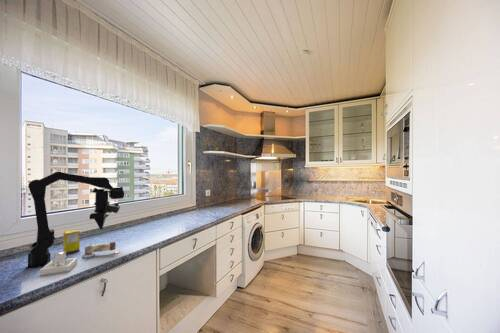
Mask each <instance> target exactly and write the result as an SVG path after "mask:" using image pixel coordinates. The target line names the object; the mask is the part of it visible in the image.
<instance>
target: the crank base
mask: <svg viewBox="0 0 500 333" xmlns="http://www.w3.org/2000/svg"><path fill="white" fill-rule="evenodd" d="M95 253H96V252H92V254H88V255H85V253H83V254H82V255H81V256H82V257H81V258H82V259H88V258H92V257H94V256H95ZM119 253H120V250H114V253H113V254H114V255H116V254H119Z"/></svg>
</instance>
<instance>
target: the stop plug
mask: <svg viewBox="0 0 500 333" xmlns="http://www.w3.org/2000/svg"><path fill="white" fill-rule="evenodd" d="M66 259H67V254H66V252H65V251H63V250H62V251H58V252H55V253H54V254H53V261H54V267H60V266H66Z"/></svg>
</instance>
